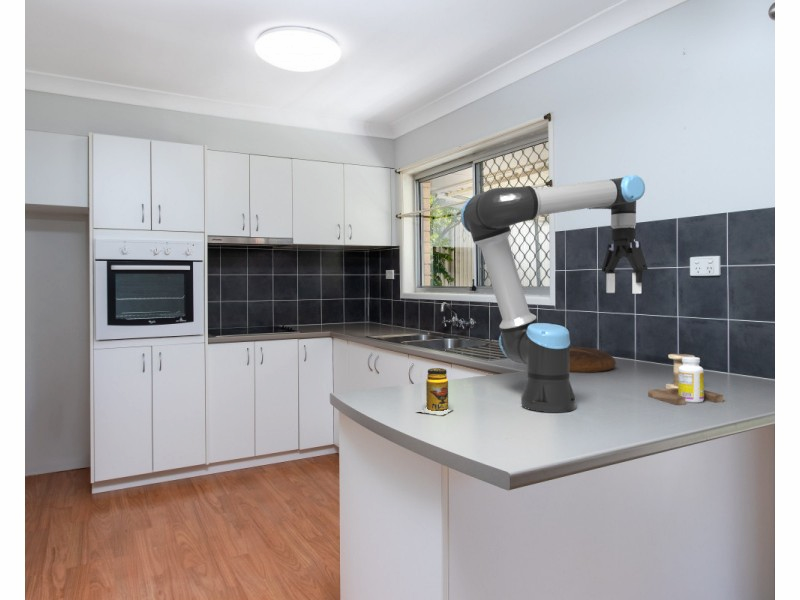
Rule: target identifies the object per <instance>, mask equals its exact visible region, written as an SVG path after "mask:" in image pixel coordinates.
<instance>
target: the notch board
mask: <svg viewBox="0 0 800 600" xmlns="http://www.w3.org/2000/svg"><path fill="white" fill-rule="evenodd" d="M647 397H650V398H651V399H652V398H653V399H656V400H659V401H662V402H666V403H669V404H671V405H675V406H682V405H686V402H685V397H682V396H678V388H671V389H666V388H659V389H648V390H647ZM704 400H705V401H708V402H713V403H720V402H721V403H722V402H724V394H722V393H717V392H713V391H708V390H707V389H706V390H705V389H704ZM704 400H703V401H704Z"/></svg>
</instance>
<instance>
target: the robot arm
mask: <svg viewBox="0 0 800 600" xmlns="http://www.w3.org/2000/svg"><path fill="white" fill-rule="evenodd" d="M645 185H646V184H645V181H644V180H643V179H642V177H640V176H639V175H637V174H633V175H625V176H623V177H618V178H617V177H616V178H609V179H603V180H602V179H601V180H594V181H586V182H577V183H570V184H569V183H568V184H562V185H555V186H554V185H553V186H547V187H538V188H537V187H536V188H534V187H533V186H531V185H525V186H510V187H508V186H506V187H495V188H491V189H488V190H486V191H484V192H480V193H477V194H475V195H473V196H472V197H470V198H469V199H468V200H467V201H466V202H465V203H464V204H463V206H462V208H461V212H460V220H461V224H462V226H463V228H464V229H465V230H466V231H467V232H469V233H470V235H471V238H472V240H473V243H474V244H475V245H478V246H479V247H480V250H481V253H482V256H483V260H484V263H485V266H486V270H487V272H488V276H489V280H490V283H491V286H492V289H493V293H494V296H495V299H496V302H497V306H498V309H499V313H500V316H501V322H500V324H499V330H500V335H499V338H498V345H499V348H500V350H501V352H502V354H503V355H504V356H505V357H506V358H508V359H510V360H511V361H512V362H513V361H514V362H515V363H519V364H524V365H526V366H527V368H526V369H527V370H526V371H527V372H526V373H527V376H526V381H525V382H526V383H525V385H524V389H523V392H522V395H521V396H520V397H521V399H520V405H521V404H522V406H524V407H526V408H529V409H532V410H531V411H534V410H536V411H535V412H540V411H544V412H543V413H568V412H572V411H574V410H576V409H577V401H576V396H575V393H574V390H573V388H572V384H571V380H570V372H569V358H570V347H571V339H570V331H569V330H568V329H567V327H565V326H563V325H558V324H552V323H546V322H545V323H544V322H542V323H541V322H539V321H538V318H537V315H535V314H534V313H531V311H530V309H529V305H528V302H527V299H526V296H525V292H524V289H523V284H522V282H521V279H520V275H519V271H518V268H517V265H516V261H515V258H514V254H513V252H512V251H513V250H512V248H511V245H510V242H509V241H510V240H509V236H510V234H511V232H512V230H511V226H514V225H517V224H520V223H523V222H524V223H525V222H528V221H533V220H535V219H536V218H537V217H539V216H545V215H551V214H558V213H565V212H572V211H573V212H574V211H579V210H585V209H587V210H610V227H611V228H612V229H611V230H610V240H611V241H614V242H613V243H608V244H607V247H606V254H605V257H604V260H603V263H602V268H601V272H604V273H605V283H606V289H605V290H606V293H607V294H615V292H616V273H615V270H616V268H617V266H618V264H619V262H620V260H621V259H622V258H626V260H628V262H629V264H630V266H631V268H632V274H631V275H632V279H631V280H632V281H631V282H632V283H631V284H632V289H631V290H632V295H633V294H637V295H638V294H639V295H640V294H642V283H643V273H644V272H645V271H648V265H647V262H646V259H645V257H644V254H643V249H642V245H641V244H642V243H641V241H638V240H636V238H637V229H636V228H635V227H636V226H637V220H636V219H637V201H639V200H640V199H641V198H642V197H643V196H644V195H645V192H646V186H645ZM522 406H521V407H522ZM524 407H523V408H524ZM526 408H525V409H526ZM529 409H528V410H529Z"/></svg>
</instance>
